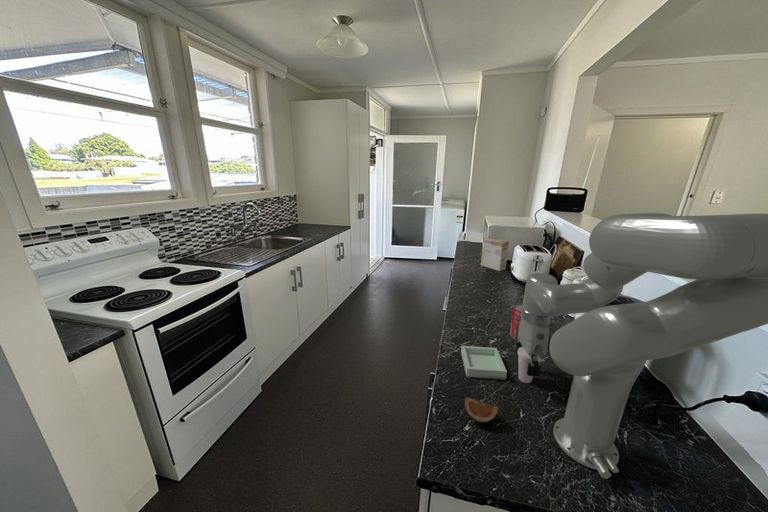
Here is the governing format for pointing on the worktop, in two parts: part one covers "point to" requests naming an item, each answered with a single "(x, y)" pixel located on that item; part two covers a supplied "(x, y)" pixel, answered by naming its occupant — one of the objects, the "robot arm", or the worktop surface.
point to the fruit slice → (480, 410)
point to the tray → (483, 362)
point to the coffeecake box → (494, 253)
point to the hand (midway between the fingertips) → (526, 364)
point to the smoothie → (524, 365)
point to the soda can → (516, 321)
